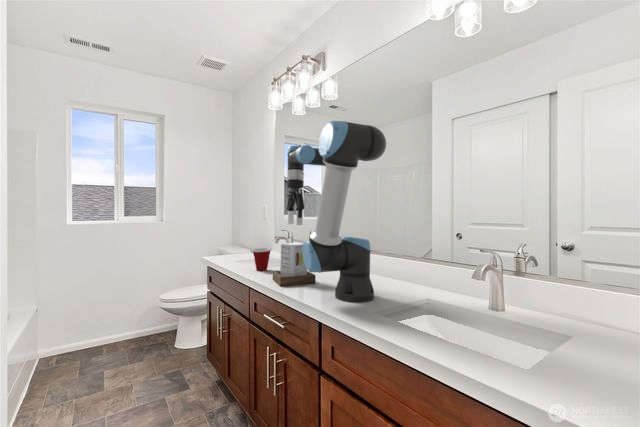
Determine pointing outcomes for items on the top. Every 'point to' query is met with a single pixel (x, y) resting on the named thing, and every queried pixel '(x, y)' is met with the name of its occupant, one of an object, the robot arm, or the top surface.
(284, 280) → the wooden tray
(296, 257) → the supplement box
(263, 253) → the plastic cup
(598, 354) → the top surface
